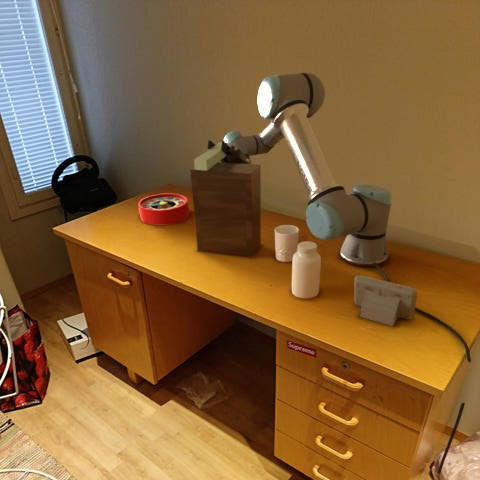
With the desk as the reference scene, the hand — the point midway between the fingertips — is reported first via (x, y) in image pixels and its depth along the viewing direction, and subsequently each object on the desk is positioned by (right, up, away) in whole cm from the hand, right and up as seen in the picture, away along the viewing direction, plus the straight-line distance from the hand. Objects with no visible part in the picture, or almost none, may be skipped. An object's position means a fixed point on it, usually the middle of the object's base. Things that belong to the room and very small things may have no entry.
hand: (215, 145), depth 144 cm
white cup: (+23, -35, +6) cm, 43 cm away
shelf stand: (+4, -31, +13) cm, 34 cm away
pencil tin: (-1, -5, +1) cm, 5 cm away
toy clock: (-23, -13, +41) cm, 49 cm away
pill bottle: (+27, -48, -13) cm, 57 cm away
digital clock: (+46, -55, -23) cm, 75 cm away
